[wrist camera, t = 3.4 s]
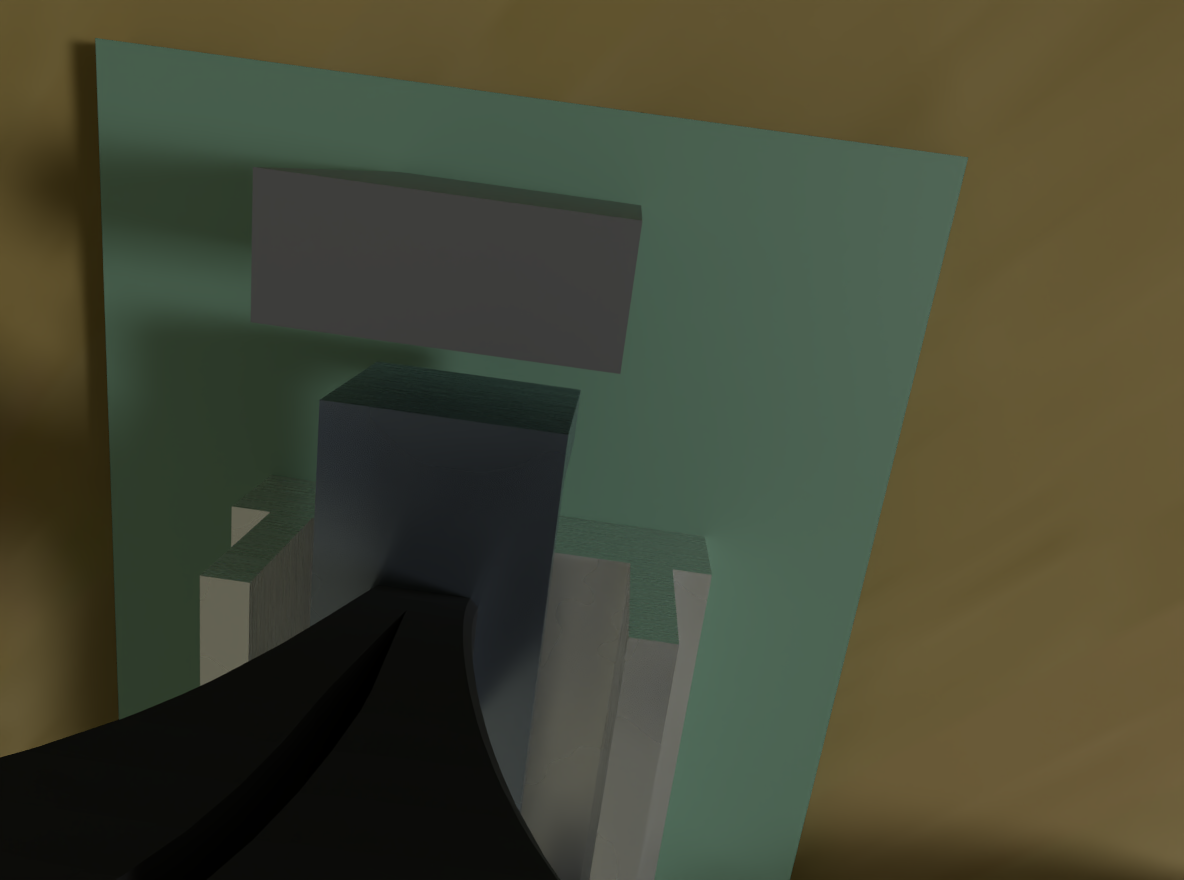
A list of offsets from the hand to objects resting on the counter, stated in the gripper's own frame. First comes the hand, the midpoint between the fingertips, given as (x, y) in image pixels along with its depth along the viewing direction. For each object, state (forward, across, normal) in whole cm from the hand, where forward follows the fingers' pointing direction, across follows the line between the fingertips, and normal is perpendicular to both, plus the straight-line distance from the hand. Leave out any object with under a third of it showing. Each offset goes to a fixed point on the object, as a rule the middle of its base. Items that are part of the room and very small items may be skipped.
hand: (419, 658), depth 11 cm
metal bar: (+2, 0, +3) cm, 4 cm away
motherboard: (+6, 0, +3) cm, 6 cm away
